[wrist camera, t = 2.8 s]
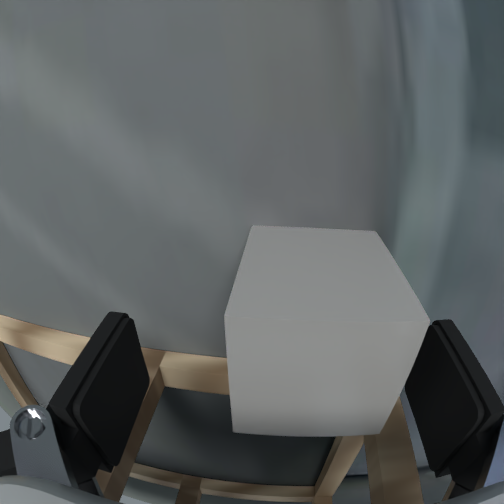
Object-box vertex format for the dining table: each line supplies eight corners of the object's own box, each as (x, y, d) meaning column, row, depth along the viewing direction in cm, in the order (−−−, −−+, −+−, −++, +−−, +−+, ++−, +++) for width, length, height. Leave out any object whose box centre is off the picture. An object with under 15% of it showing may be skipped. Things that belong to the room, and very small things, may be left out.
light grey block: (375, 230, 12) (430, 320, 7) (356, 329, 14) (379, 434, 9) (252, 225, 13) (224, 315, 7) (252, 325, 15) (233, 432, 9)
